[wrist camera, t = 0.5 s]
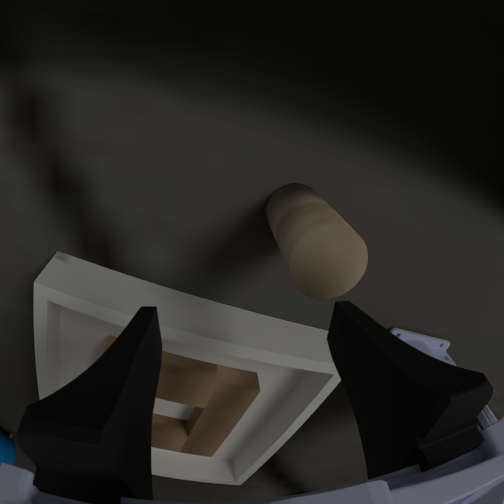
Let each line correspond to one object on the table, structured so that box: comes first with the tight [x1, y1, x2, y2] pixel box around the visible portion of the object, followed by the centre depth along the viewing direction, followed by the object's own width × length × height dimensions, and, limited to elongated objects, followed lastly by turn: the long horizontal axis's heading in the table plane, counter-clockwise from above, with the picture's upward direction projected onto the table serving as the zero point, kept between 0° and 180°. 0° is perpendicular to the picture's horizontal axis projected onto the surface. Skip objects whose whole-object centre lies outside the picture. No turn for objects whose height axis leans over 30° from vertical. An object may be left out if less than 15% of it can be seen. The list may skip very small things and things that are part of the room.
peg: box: [266, 183, 368, 299], centre depth 17 cm, size 4×4×7 cm
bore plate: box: [103, 335, 260, 457], centre depth 25 cm, size 12×12×2 cm
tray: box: [34, 251, 341, 485], centre depth 25 cm, size 22×22×4 cm
